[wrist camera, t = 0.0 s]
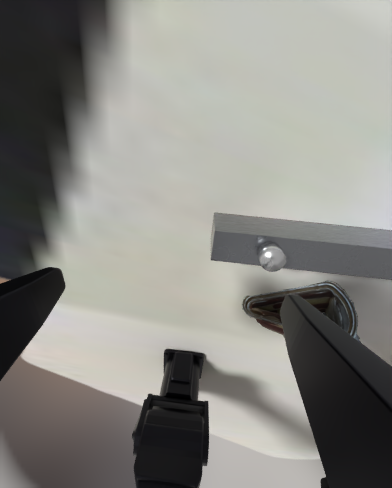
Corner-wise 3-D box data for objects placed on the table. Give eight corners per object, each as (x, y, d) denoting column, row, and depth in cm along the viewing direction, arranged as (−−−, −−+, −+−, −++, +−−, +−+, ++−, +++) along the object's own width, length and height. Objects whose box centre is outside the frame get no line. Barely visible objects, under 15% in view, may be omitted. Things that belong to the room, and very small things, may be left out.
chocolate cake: (243, 329, 30) (333, 395, 22) (236, 307, 26) (344, 380, 18) (277, 284, 34) (364, 328, 26) (275, 258, 29) (381, 300, 21)
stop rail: (442, 261, 22) (526, 304, 16) (211, 237, 23) (210, 269, 17) (461, 237, 21) (559, 274, 15) (214, 212, 22) (214, 238, 16)
